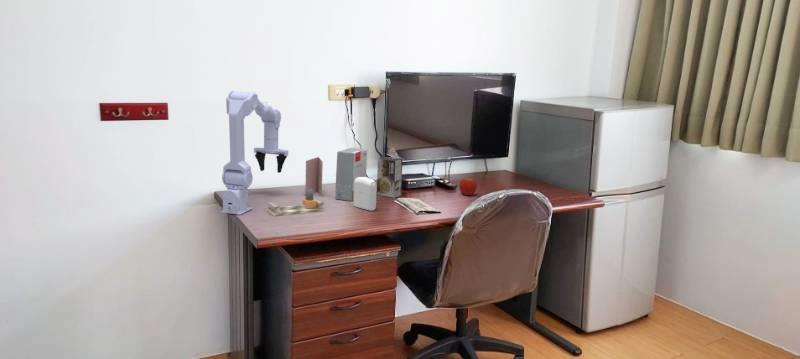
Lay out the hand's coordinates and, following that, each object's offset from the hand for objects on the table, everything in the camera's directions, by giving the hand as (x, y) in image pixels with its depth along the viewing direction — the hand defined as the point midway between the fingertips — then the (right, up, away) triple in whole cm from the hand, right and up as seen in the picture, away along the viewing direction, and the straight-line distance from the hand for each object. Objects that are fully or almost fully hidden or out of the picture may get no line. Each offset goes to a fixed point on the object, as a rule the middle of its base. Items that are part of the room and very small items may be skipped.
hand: (270, 171), depth 261 cm
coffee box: (+48, -10, +13) cm, 51 cm away
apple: (+83, -10, +21) cm, 86 cm away
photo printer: (+39, -15, -11) cm, 43 cm away
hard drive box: (+32, -11, +7) cm, 35 cm away
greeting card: (+18, -10, +8) cm, 22 cm away
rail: (+14, -15, -21) cm, 30 cm away
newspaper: (+60, -15, -6) cm, 62 cm away
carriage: (+19, -14, -19) cm, 30 cm away
